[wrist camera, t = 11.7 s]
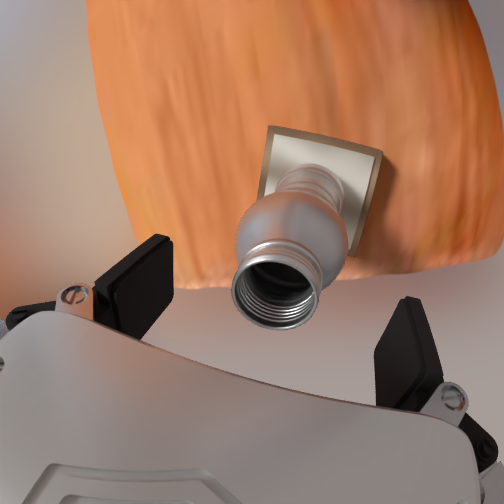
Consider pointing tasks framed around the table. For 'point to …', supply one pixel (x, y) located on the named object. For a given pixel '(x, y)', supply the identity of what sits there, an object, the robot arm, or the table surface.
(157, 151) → the table surface
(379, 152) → the plinth
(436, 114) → the table surface
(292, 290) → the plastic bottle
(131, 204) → the table surface
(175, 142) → the table surface
